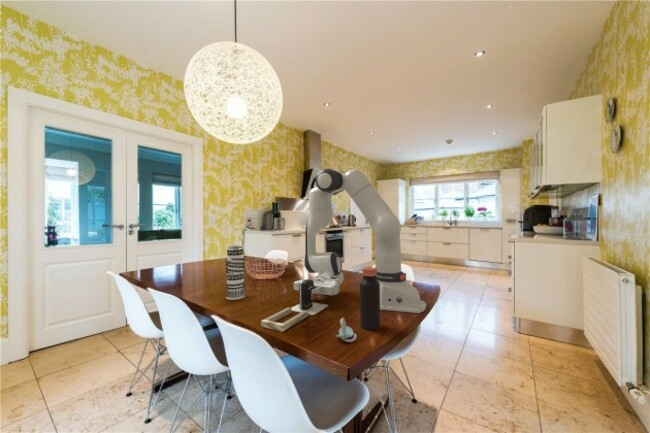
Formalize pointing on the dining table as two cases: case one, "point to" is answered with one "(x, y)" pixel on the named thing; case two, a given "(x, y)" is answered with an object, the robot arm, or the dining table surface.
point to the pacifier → (346, 332)
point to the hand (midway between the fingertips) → (305, 291)
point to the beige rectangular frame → (287, 324)
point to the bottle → (369, 300)
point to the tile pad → (311, 310)
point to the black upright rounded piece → (305, 293)
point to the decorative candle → (235, 272)
